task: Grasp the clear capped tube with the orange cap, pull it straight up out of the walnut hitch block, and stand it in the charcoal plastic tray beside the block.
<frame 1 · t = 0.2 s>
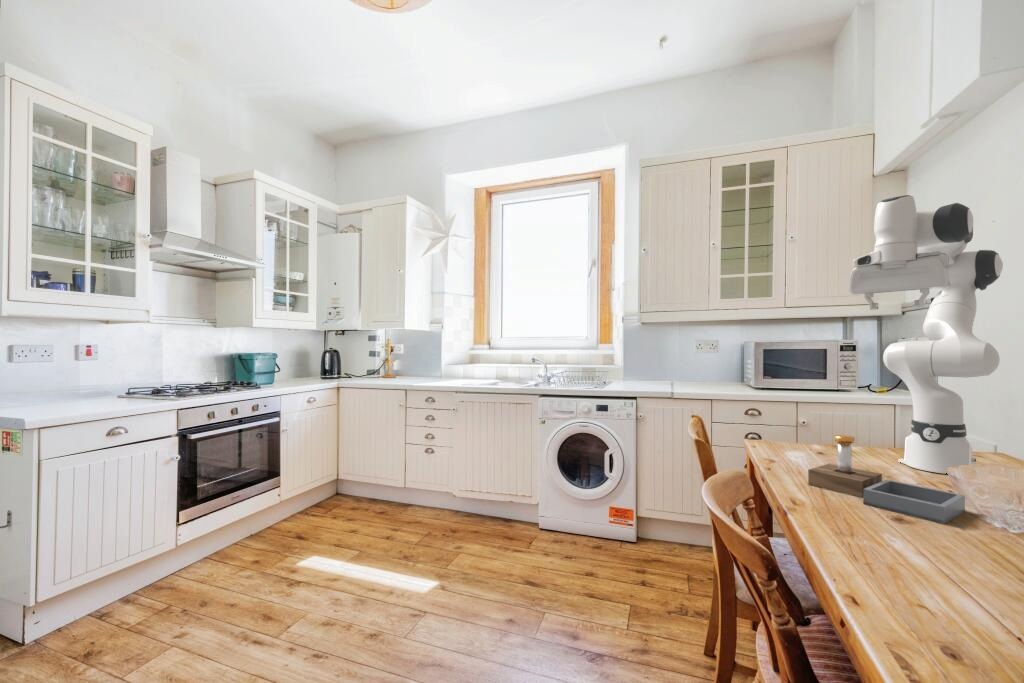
hand: (895, 308, 119), 47 cm above the table, tool pointing down, fingers open, 8 cm apart
tray: (913, 507, 102), on the table
clear capped tube: (844, 487, 117), resting in hitch block
hitch block: (844, 486, 117), on the table
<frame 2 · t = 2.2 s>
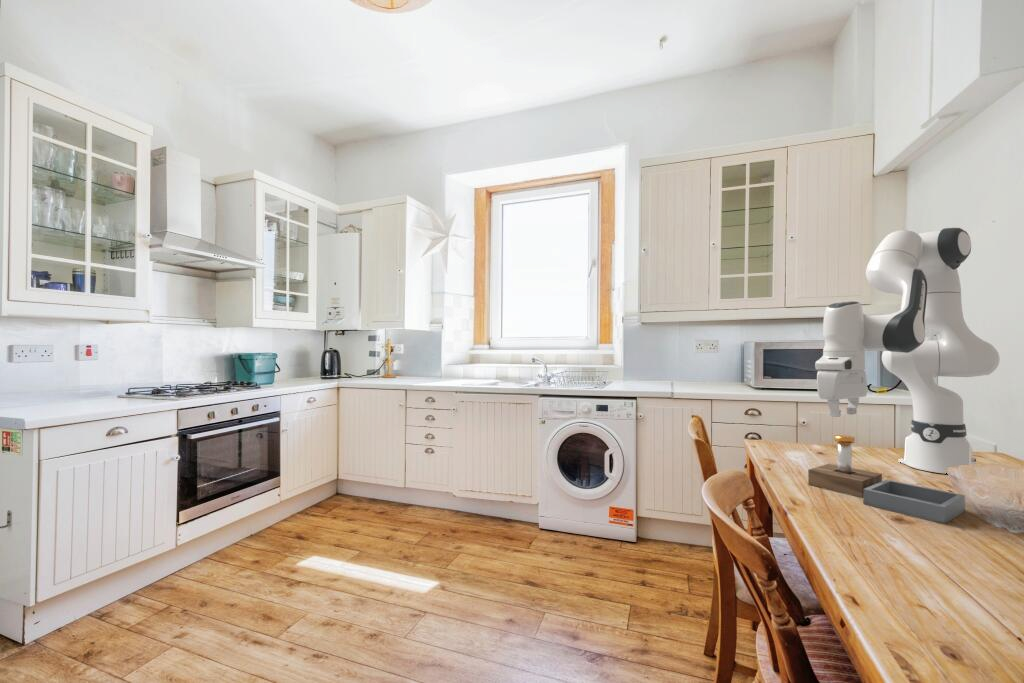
hand: (843, 415, 117), 19 cm above the table, tool pointing down, fingers open, 8 cm apart
nothing on the table moved.
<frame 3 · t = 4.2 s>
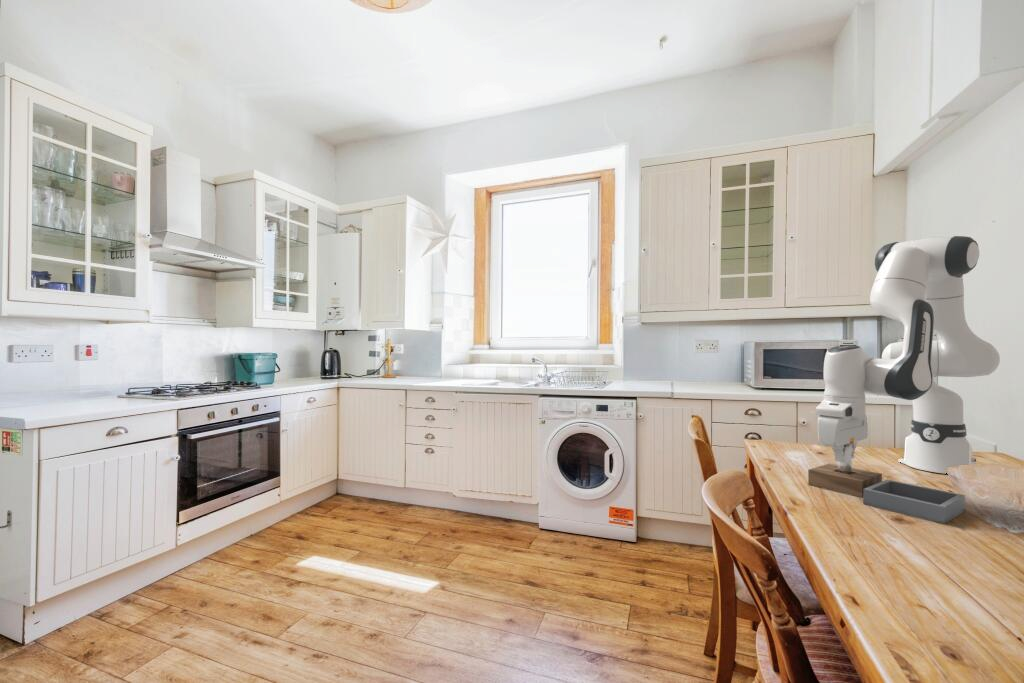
hand: (844, 459, 117), 7 cm above the table, tool pointing down, fingers closed on clear capped tube, 4 cm apart
clear capped tube: (844, 487, 117), resting in hitch block, touching gripper
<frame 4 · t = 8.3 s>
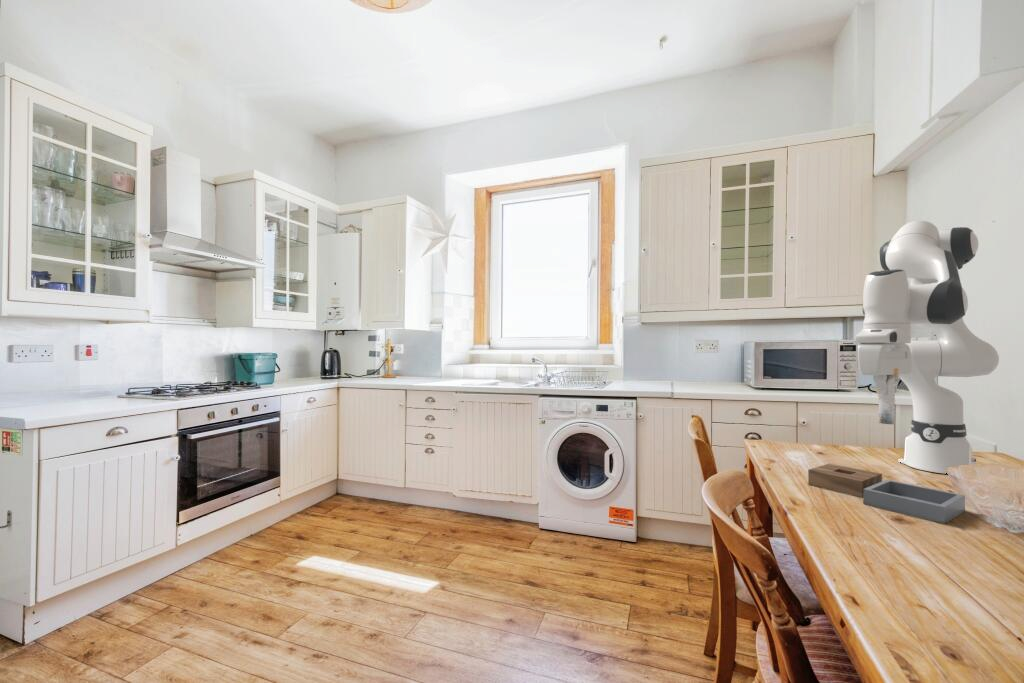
hand: (886, 393, 107), 26 cm above the table, tool pointing down, fingers closed on clear capped tube, 4 cm apart
clear capped tube: (886, 423, 107), point 18 cm above the table, touching gripper
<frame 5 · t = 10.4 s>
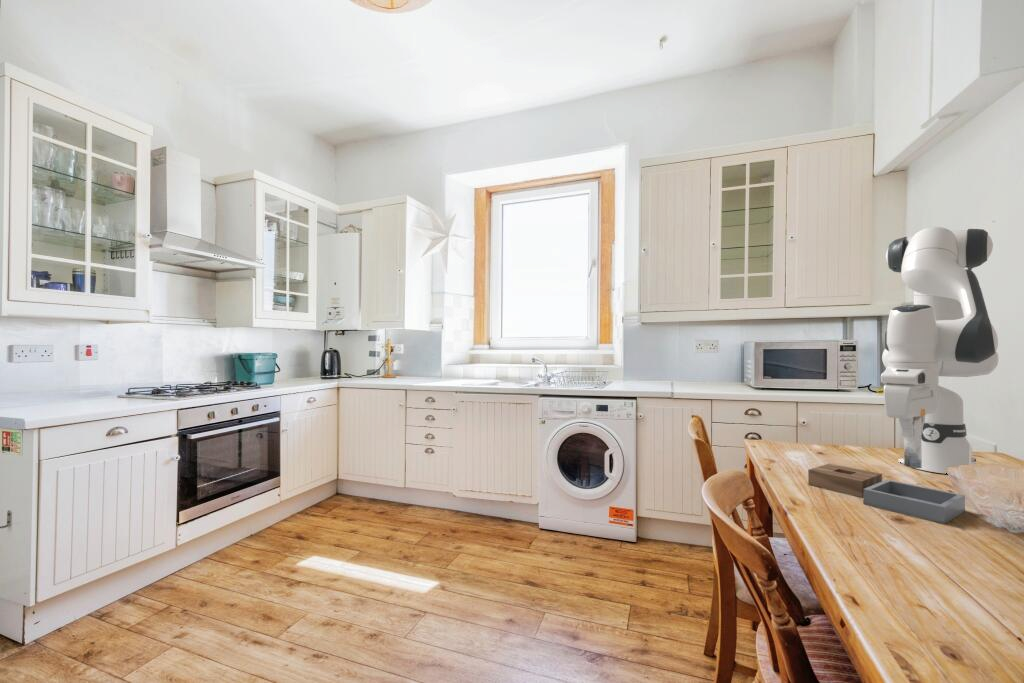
hand: (912, 435, 102), 17 cm above the table, tool pointing down, fingers closed on clear capped tube, 4 cm apart
clear capped tube: (912, 466, 102), point 9 cm above the table, touching gripper
when the fingers open (9 cm above the table, at t = 12.5 s): clear capped tube drops 1 cm, resting on tray.
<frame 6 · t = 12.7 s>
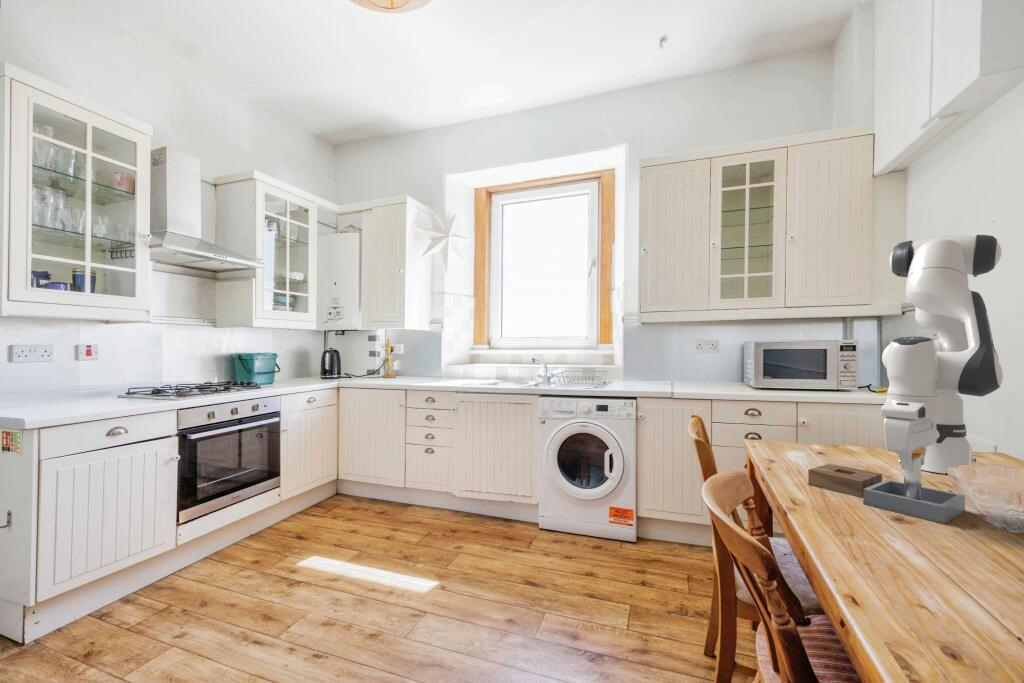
hand: (912, 467, 102), 9 cm above the table, tool pointing down, fingers open, 5 cm apart
clear capped tube: (913, 504, 102), point 1 cm above the table, touching tray
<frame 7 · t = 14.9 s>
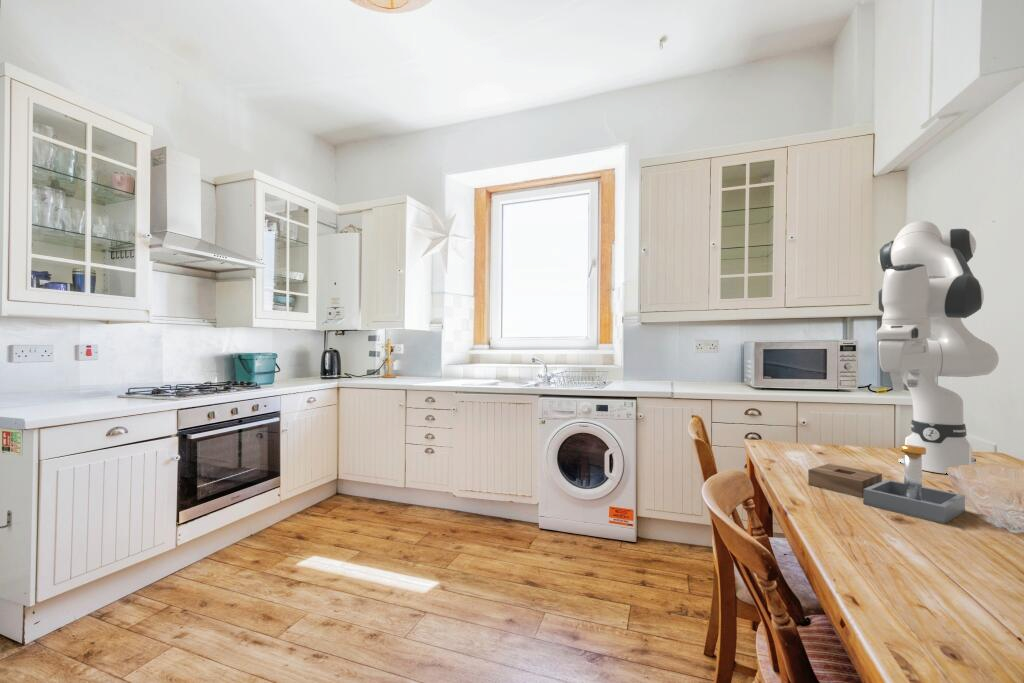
hand: (905, 388, 107), 27 cm above the table, tool pointing down, fingers open, 8 cm apart
nothing on the table moved.
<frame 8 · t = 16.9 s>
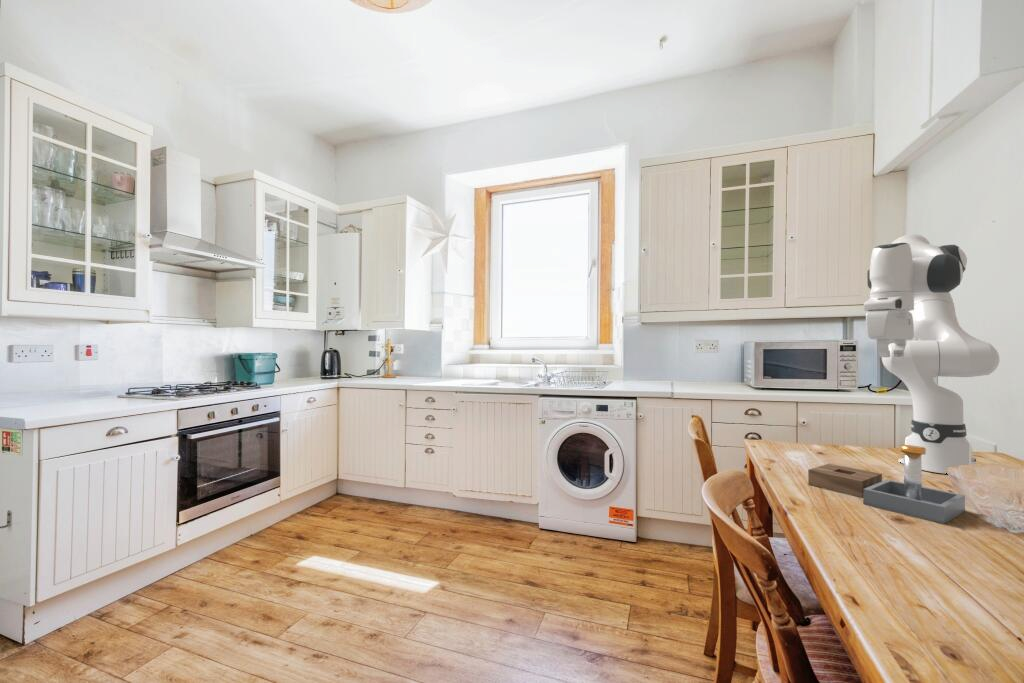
hand: (891, 357, 117), 34 cm above the table, tool pointing down, fingers open, 8 cm apart
nothing on the table moved.
at the end: clear capped tube inside the target area on the tray (0.0 cm from its centre), point 0.6 cm above the tray's base; clear capped tube moved 15.5 cm from its start; the gripper is holding nothing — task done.
